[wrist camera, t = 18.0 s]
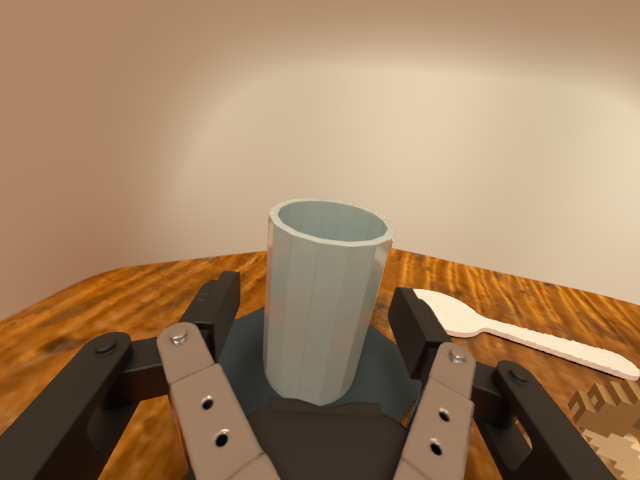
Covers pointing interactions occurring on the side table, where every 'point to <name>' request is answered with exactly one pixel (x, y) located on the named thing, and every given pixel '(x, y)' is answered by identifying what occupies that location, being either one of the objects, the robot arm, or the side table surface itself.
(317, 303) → the pale grey cylindrical cup
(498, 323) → the spoon
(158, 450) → the side table surface
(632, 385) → the cream blocky toy figure
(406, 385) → the back mat
